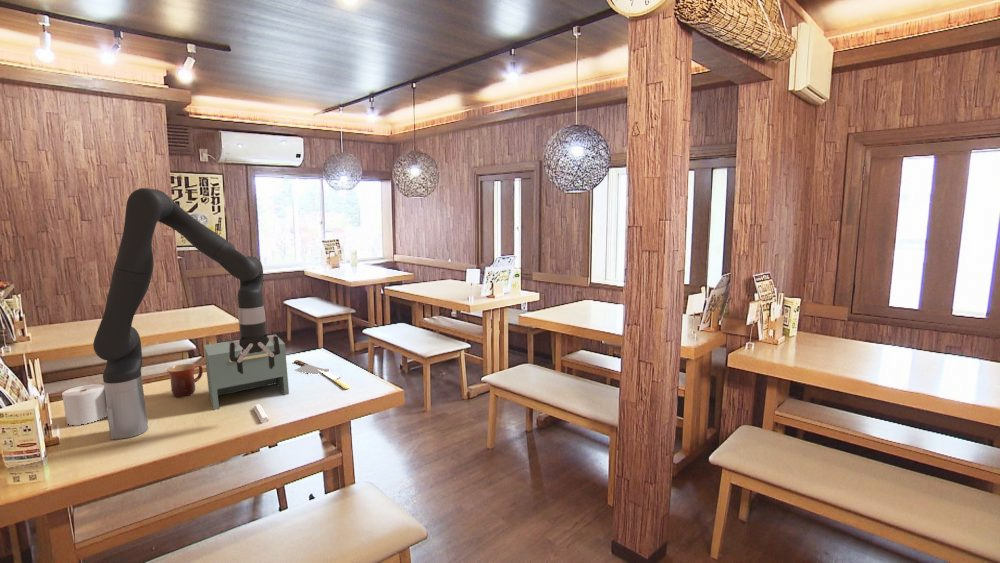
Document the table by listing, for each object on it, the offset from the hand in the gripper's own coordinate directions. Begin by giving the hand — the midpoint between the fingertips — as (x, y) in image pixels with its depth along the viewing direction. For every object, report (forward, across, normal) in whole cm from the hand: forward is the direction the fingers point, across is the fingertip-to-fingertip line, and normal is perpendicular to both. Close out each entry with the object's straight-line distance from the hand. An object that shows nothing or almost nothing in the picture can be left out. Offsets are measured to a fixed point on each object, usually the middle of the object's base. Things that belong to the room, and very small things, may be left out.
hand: (256, 370), depth 161 cm
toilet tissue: (+17, -46, +35) cm, 60 cm away
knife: (+16, +31, +26) cm, 44 cm away
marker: (+17, +1, +4) cm, 17 cm away
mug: (+17, -18, +42) cm, 48 cm away
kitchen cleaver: (+17, +25, +44) cm, 53 cm away
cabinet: (+16, 0, +26) cm, 30 cm away
